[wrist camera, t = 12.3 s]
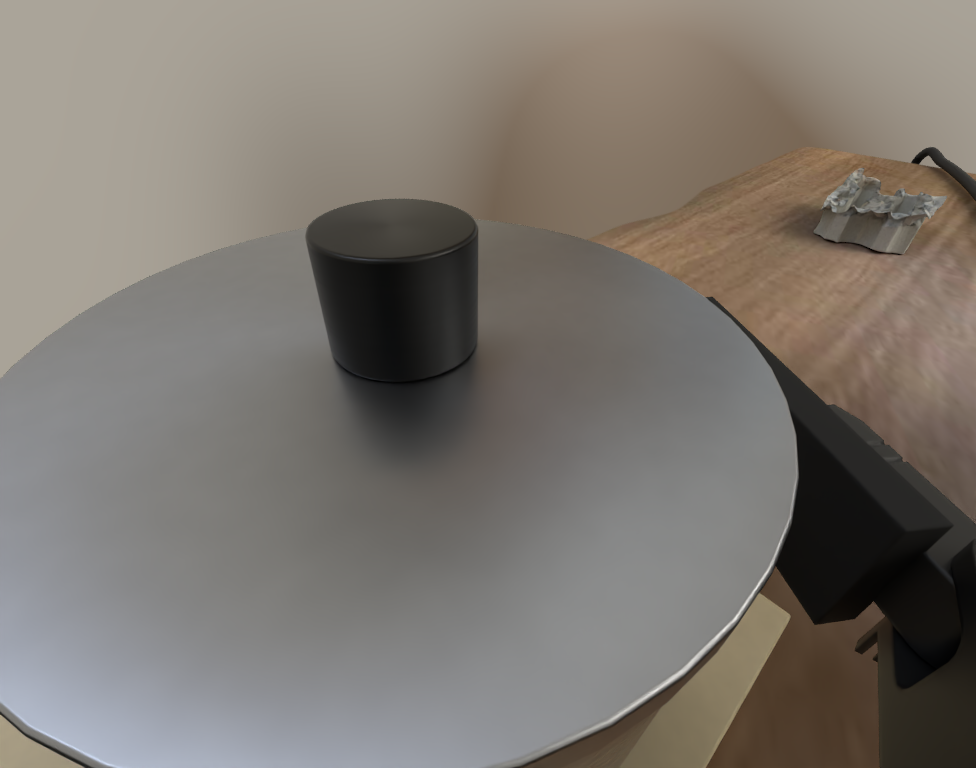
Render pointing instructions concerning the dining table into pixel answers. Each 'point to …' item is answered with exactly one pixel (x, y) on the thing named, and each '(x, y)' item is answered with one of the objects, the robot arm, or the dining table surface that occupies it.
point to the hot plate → (662, 747)
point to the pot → (382, 502)
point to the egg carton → (874, 215)
